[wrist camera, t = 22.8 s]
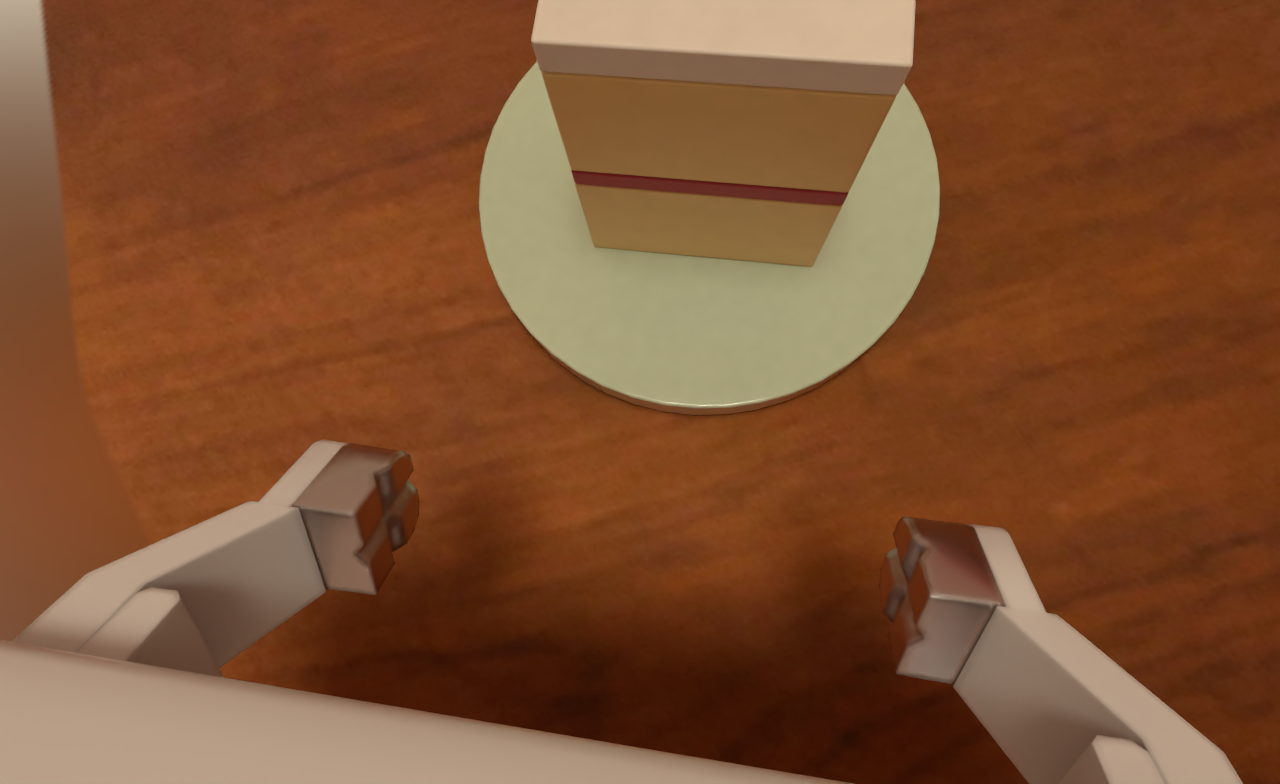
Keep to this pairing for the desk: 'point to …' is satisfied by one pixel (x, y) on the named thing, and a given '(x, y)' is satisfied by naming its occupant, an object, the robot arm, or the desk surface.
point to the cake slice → (720, 116)
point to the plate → (702, 275)
